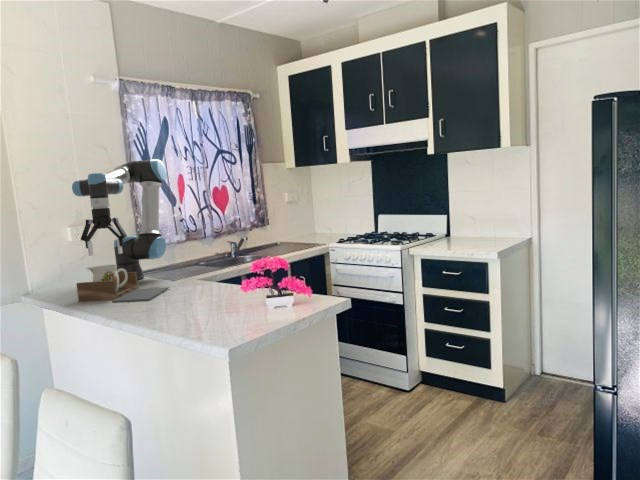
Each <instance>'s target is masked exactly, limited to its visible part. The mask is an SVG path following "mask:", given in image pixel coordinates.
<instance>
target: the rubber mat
mask: <svg viewBox="0 0 640 480" xmlns="http://www.w3.org/2000/svg"><path fill="white" fill-rule="evenodd" d="M168 288H169V289H170V286H169V287H168V286H166V287H165V286H164V287H151V288H150V287H148V288H137V289H135V290H133V291H131V292H129V293H127V294H125V295H123V296H121V297H119V298H117V299H112V300H111V302H112V304H113V303H115V304H116V303H127V302H128V303H129V302H146V301H147V302H149V301H152V300H153V299H155V298H156V297H159V296H160V295H162V294H163V293H165V292H166V290H167V289H168ZM169 289H168V290H169ZM168 290H167V291H168ZM164 291H165V292H164ZM161 293H162V294H161Z"/></svg>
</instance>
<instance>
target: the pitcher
mask: <svg viewBox="0 0 640 480" xmlns="http://www.w3.org/2000/svg"><path fill="white" fill-rule="evenodd" d="M85 268H86V270H89V271H90V272H91V273H92V282H98V281H115V283H116V292H118V291H119V290H118V288H120V287H122V286H124V285H125V284H126V282H127V279H128V274H127V272H126V270H125V269H122V268H121V269H118V270H117V265H116V264H107V265H106V264H104V265H103V264H102V265H96V266H90V267H85ZM120 271H123V272H124V274H125V280H124V281H123V282H122V283H121V284H120V285H119V275H118V273H119V272H120Z"/></svg>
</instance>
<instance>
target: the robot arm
mask: <svg viewBox="0 0 640 480" xmlns="http://www.w3.org/2000/svg"><path fill="white" fill-rule="evenodd" d="M165 180H167V168H166V166H165V164H164V163H163V162H162V160H160V159H145V160H144V159H143V160H134V161H129V162H127V163H123V164H121V165H118V166H116V167H114V169H112V170H109V171H107V172H104V173H103V172H101V173H100V172H99V173H98V172H97V173H96V172H95V173H89V174H88V175H87V178H86V179H80V180H75V181H73V183H72V185H71V189H72V193H73V194H74V195H75V196H76V197H89V199H90V200H89V201H90V207H91V208H92V209H91V217H92V219H89V218H88V219H85V225H84V228H83V230H82V234H81V236H80V241H83V242H85V248H86V249H87V252H88V253H87V254H88V256H89V257H92V256H94V247H93V242H92V238H93V236H94V235H95V234H96V231H97V230H99V229H108V230H109V231H110V232H111V234H113V235H114V236H115V237H116V239H115V240H114V242H113V249H114V257H115V265H117V270H118V269H121V268H122V269H125V270H126V272H137V279H140V280H142V279H141V278H143V279H145V273H144V271H143V269H142V267H141V264H140V260H141V261H142V260H143V261H144V260H156V259H161V258H163V256H164V254H165V252H166V249H167V242H166V238H164V237H163V236H162V233H161V232H160V229H159V228H160V225H159V224H160V212H159V211H160V188H161V187H162V185H163V182H164V181H165ZM128 183H130V184H131V183H132V184H133V183H139V185H140V187H142V188H141V189H142V191H141V194H142V195H141V197H142V198H141V200H142V201H141V231H140V232H139V233H138V236H137V235H131V236H128V235H127V233H126V232H125V230H124V229H123V227H122V225H121V223H120V222H119V219H118V217H112V218H111V209H110V201H109V195H117V194H121V193H122V192H123V191H124V184H128ZM112 223H113V224H114V226H115V227H116V228H115V227H114V226H113V225H112ZM92 224H93V226H92V227H91V225H92ZM90 228H91V230H90ZM119 273H124V272H123V271H120V272H119Z"/></svg>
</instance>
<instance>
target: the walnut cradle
mask: <svg viewBox="0 0 640 480" xmlns="http://www.w3.org/2000/svg"><path fill="white" fill-rule="evenodd" d="M127 274H128V279H127V282H126V284H125V285H124V286H122V287H120V288H118V290H117V292H118V291H120V292H118V293H117V292H116V283H115V281H98V282H93V281H85V282H84V281H83V282H76V290H77V299H78V302H91V301H92V302H93V301H109V300H111V301H113V300H115V299H117V298H119V297H121V296H123V295H125V294H127V293H129V292H131V291H133V290H135V289H139V283H138V280H137V272H127ZM118 275H119V285H120V284H121V283H122V282H123V281H124V280H125V274H124V273H118ZM120 289H125V290H120Z"/></svg>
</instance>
